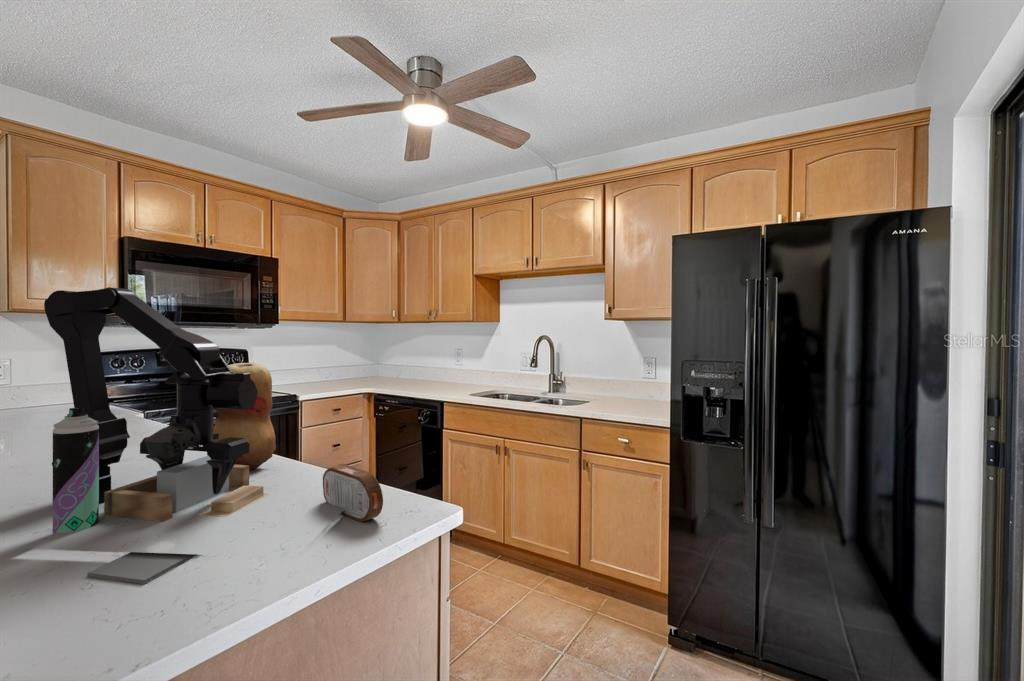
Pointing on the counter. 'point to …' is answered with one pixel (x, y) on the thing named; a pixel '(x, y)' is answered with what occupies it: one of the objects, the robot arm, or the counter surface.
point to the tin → (353, 492)
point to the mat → (139, 566)
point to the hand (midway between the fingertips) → (195, 491)
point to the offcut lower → (224, 514)
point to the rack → (154, 497)
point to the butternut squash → (251, 418)
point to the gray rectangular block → (188, 483)
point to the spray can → (75, 472)
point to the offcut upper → (236, 499)
